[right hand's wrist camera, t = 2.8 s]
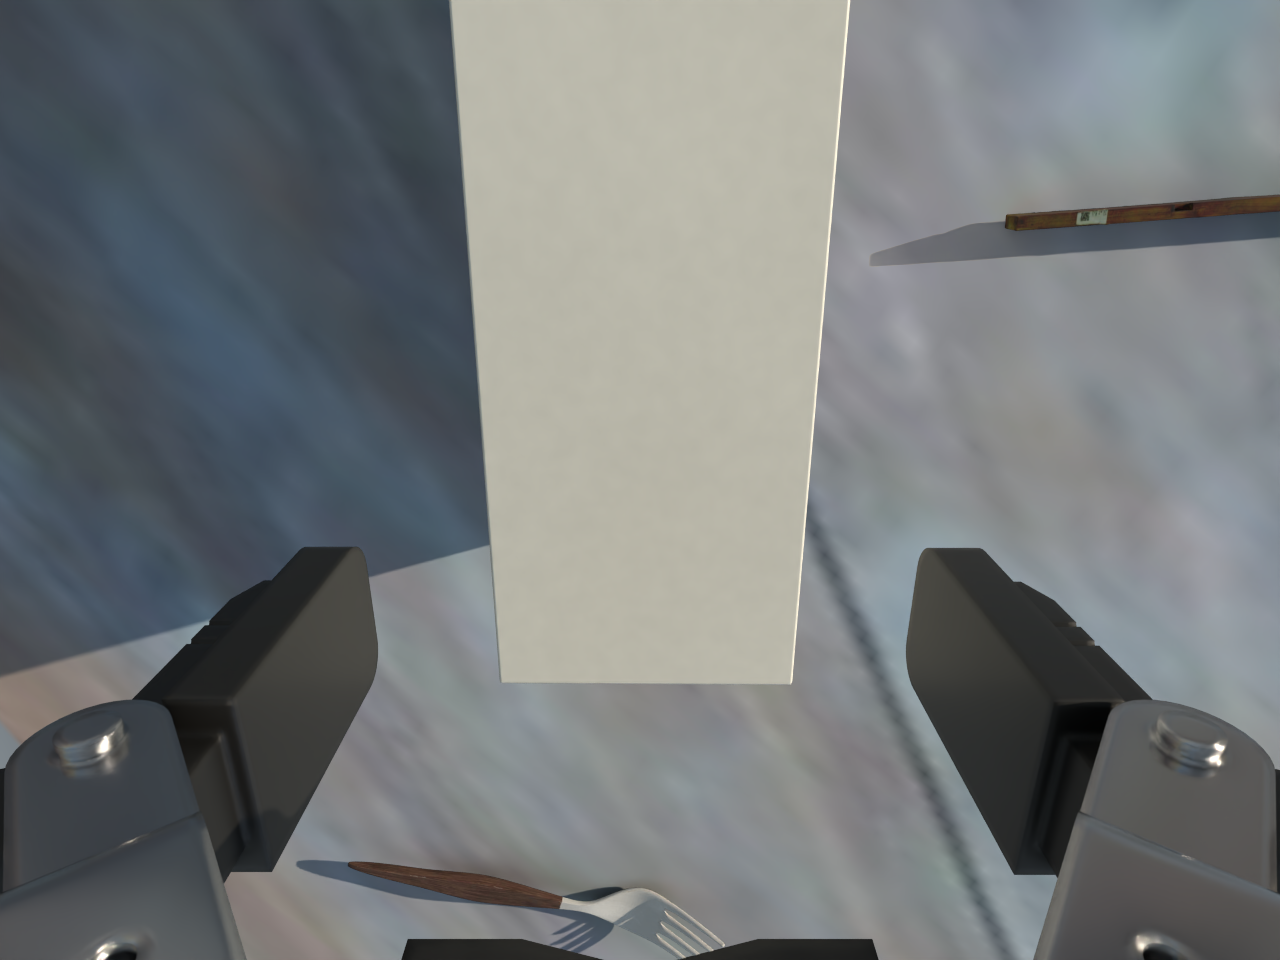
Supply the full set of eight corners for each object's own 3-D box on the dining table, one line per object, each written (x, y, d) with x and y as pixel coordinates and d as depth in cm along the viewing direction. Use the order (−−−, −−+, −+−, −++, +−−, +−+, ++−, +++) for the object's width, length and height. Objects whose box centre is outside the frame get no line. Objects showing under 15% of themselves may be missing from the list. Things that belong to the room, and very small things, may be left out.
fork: (356, 830, 32) (338, 870, 30) (721, 900, 34) (726, 942, 32) (349, 876, 33) (331, 917, 31) (705, 942, 34) (709, 985, 33)
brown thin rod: (1514, 175, 23) (1551, 175, 22) (1509, 191, 23) (1545, 192, 22) (1003, 214, 23) (1018, 215, 23) (1002, 230, 24) (1016, 231, 23)
